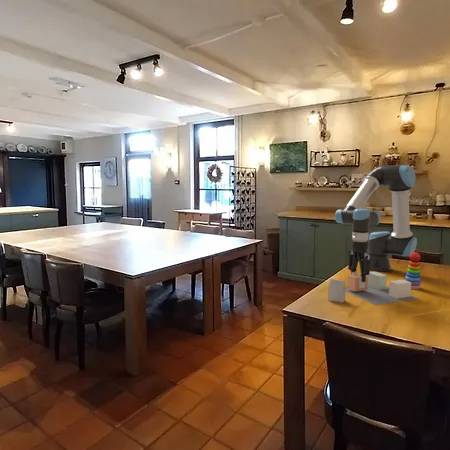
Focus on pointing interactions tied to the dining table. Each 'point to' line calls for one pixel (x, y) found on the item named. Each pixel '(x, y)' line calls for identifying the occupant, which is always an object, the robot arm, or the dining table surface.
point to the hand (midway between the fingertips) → (357, 286)
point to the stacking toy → (414, 271)
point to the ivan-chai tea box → (336, 290)
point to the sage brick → (377, 280)
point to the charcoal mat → (378, 296)
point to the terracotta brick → (356, 283)
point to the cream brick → (400, 289)
